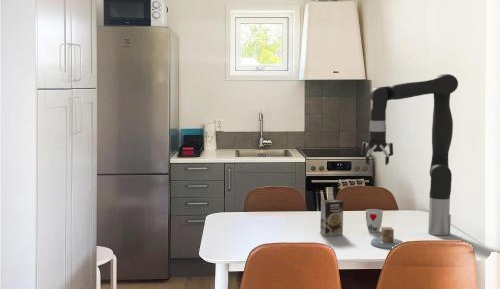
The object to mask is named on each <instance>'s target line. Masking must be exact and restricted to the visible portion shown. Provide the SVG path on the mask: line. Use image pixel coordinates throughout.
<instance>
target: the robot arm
mask: <svg viewBox="0 0 500 289" xmlns="http://www.w3.org/2000/svg"><path fill="white" fill-rule="evenodd" d="M458 87H459V81H458V79H457V77H456V76H454V75H453V74H449V73H444V74H443V73H442V74H439V75H437V76H436V77H435V78H433V79H429V80H421V81H412V82H404V83H397V84H392V85H387V86H380V87H379V86H377V87H374V88H372V89H371V90H370V92H369V99H370V100H371V101H372V103H371V104H372V106H371V107H372V108H371V110H370V118H369V120H370V122H369V139H368V142H364V141H363V142H362V145H361V155H362V156H363V157H365V164H366V165H367V166H368V165H370V155H371V154H372V153H373V152H374V153H383V154H384V155H385V157H384V158H385V160H384V164H385V165H386V166H388V165H389V164H390V157H391V156H393V155H394V145H393V144H394V143H393V142H387V119H386V118H387V113H386V112H387V111H386V110H387V105H388V101H392V100H394V101H395V100H403V99H404V100H405V99H409V98H414V97H418V96H424V95H433V112H432V123H431V124H432V127H431V149H432V153H431V162H430V167H429V168H430V169H429V177H430V189H429V200H428V201H429V202H428V203H429V205H428V227H427V228H428V230H427V231H428V234H430V235H433V236H447V235H448V236H450V235H451V222H452V220H451V216H452V215H451V214H450V207H451V206H450V205H451V193H452V181H453V180H452V179H453V178H452V175H453V174H452V171H451V169H450V166H449V153H450V148H451V144H452V139H453V129H454V120H453V116H452V115H453V114H452V110H451V106H450V102H451V101H450V100H451V94H452V93H454V92H455V91H456V90H457V89H458ZM368 147H369V149H368V150H367V152H366V148H368ZM386 147H388V148H389V149H388V150H389V152H387V150H386V149H385V148H386Z"/></svg>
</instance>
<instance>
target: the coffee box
mask: <svg viewBox="0 0 500 289" xmlns="http://www.w3.org/2000/svg"><path fill="white" fill-rule="evenodd" d="M319 225H320V229H319V230H320V232H319V233H320V234H321V235H322V236H325V237H330V236H331V237H334V236H343V235H344V234H343V231H344V230H343V228H344V201H343V200H341V199H322V200H320V224H319Z"/></svg>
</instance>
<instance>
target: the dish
mask: <svg viewBox="0 0 500 289" xmlns="http://www.w3.org/2000/svg"><path fill="white" fill-rule="evenodd" d="M402 242H404V241H403V240H401V239H398V238H393V243H383V242H382V241H381V237H375V238H372V239H371V241H370V245H371V246H373V247H375V248H379V249H385V250H392V249H391V248H392V247H394V246H395V245H397V244H399V243H402Z"/></svg>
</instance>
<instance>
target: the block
mask: <svg viewBox="0 0 500 289" xmlns="http://www.w3.org/2000/svg"><path fill="white" fill-rule="evenodd" d="M380 230H381V235H380V238H381V241H382V242H383V243H393V239H395V238H394V231H395V230H394V229H393V227H392V226H391V227H390V226H381V227H380Z"/></svg>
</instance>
